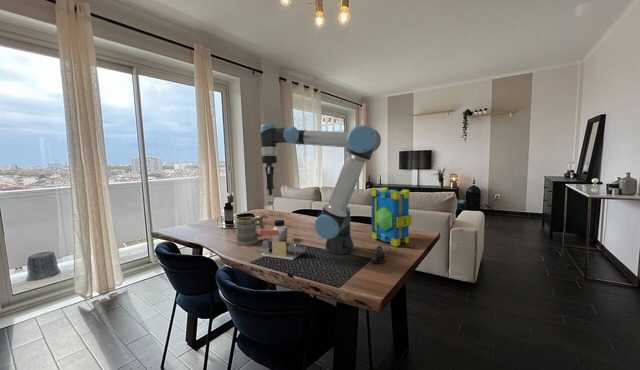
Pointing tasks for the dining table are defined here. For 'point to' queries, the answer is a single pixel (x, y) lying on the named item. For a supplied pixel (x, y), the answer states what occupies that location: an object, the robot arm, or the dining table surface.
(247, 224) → the tankard
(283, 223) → the medicine bottle
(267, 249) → the valve
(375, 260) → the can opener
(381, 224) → the decorative book
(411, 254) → the dining table surface
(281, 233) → the lever
